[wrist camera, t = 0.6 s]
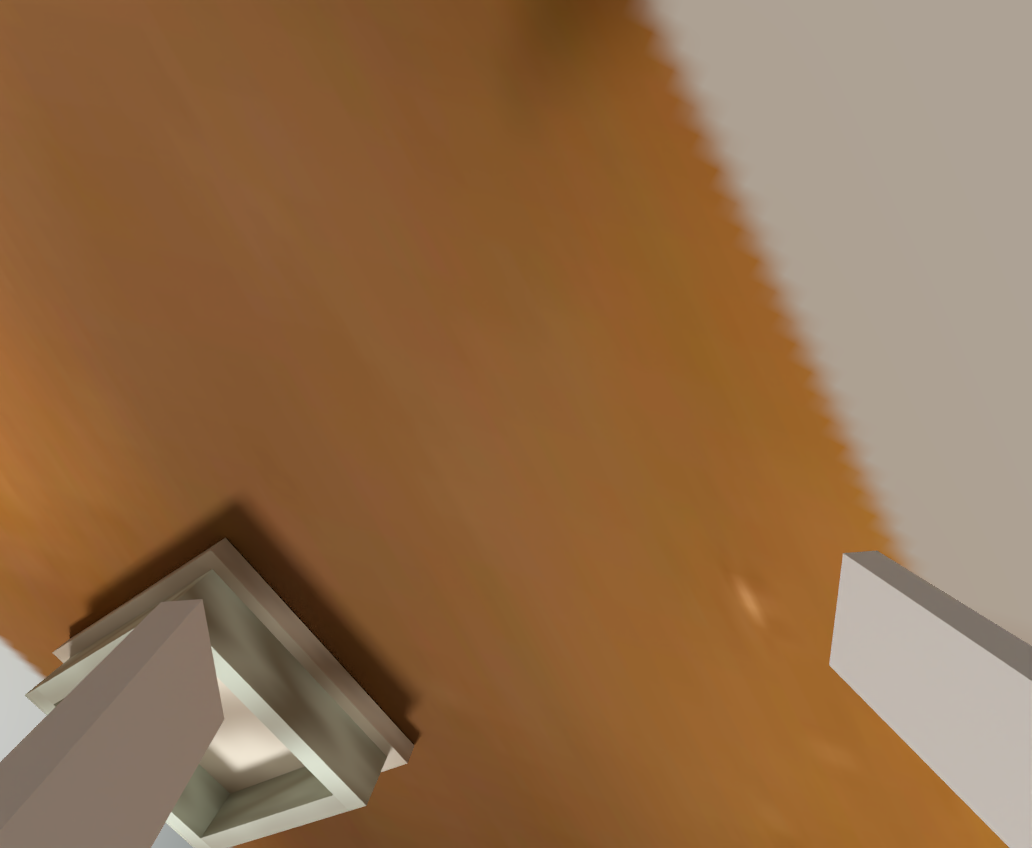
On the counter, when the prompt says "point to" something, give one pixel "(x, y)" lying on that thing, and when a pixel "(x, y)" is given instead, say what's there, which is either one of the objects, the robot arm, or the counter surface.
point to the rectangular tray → (254, 708)
